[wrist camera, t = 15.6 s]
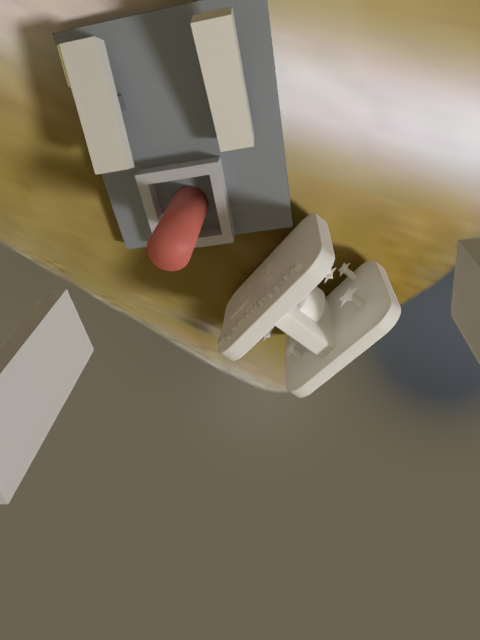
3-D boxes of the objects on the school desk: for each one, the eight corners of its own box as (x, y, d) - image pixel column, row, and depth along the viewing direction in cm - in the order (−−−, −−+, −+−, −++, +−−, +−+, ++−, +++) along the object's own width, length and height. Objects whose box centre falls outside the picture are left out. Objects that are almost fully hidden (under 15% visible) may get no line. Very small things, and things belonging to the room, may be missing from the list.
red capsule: (169, 188, 44) (140, 233, 35) (204, 183, 44) (184, 227, 35) (178, 222, 46) (153, 273, 37) (211, 217, 46) (195, 268, 36)
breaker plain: (192, 14, 33) (190, 23, 32) (232, 6, 33) (231, 14, 32) (221, 141, 41) (220, 152, 39) (254, 135, 40) (254, 146, 39)
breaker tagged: (67, 48, 37) (55, 44, 35) (103, 40, 37) (94, 36, 35) (100, 172, 41) (92, 175, 39) (134, 167, 40) (127, 169, 39)
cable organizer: (290, 343, 56) (292, 410, 46) (222, 296, 53) (210, 358, 43) (382, 260, 49) (407, 320, 39) (310, 200, 45) (319, 249, 36)
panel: (59, 32, 39) (42, 34, 36) (265, -13, 36) (264, -16, 33) (130, 243, 49) (121, 257, 47) (292, 221, 47) (293, 234, 44)
